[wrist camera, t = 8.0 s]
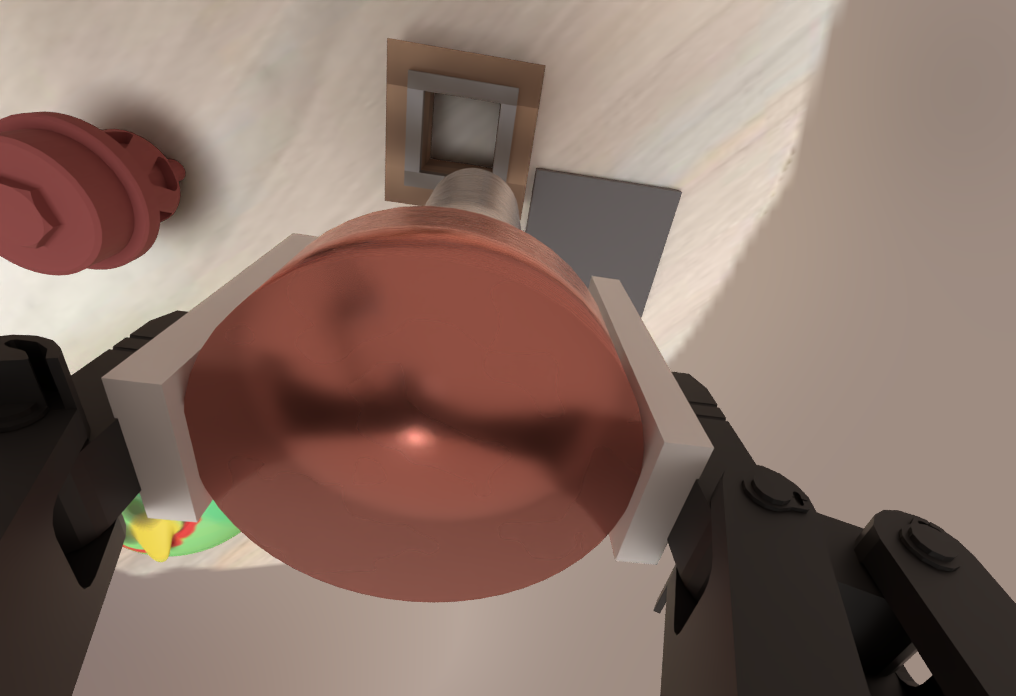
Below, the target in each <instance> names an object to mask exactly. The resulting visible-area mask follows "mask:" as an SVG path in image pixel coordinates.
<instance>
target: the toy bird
mask: <svg viewBox="0 0 1016 696" xmlns="http://www.w3.org/2000/svg"><path fill="white" fill-rule="evenodd" d="M122 515H123V517H124V520H125V523H126V537H125V540H124V543H123V546H122V547H124V548H126V549H129V550H132V551H135V552H138V553H142V554H147V555H149V556H150V557H151V558H153V559H154V560H155V561H157V562H164V561H166V560H167V559H168V556H181V555H188V554H193V553H197V552H201V551H204V550H207V549H210V548H212V547H215V546H217V545H219V544H221V543H223V542H225V541H227V540H229V539H231V538H232V537H234V536H236V535H237V534H239V533H240V532H241V531H240V530H239V529H238V528H237V527H236V526H235V525H234V524H233V523H232V522H231V521H230V520H229V519H228V518H227V516H226V515H225V514H224V513H223V512H222V511H221V510H220V509H219V507H218V506H217V505H216V503H215V502H214V500H212V502H211V503H210V504H209V506H208V507H207V509H206V510H205V512H204V513H203V515H202V516H201V518H200V519H199V521H198V522H187V521H176V520H165V519H154V518H148V517H147V514H146V511H145V508H144V505H143V502H142V499H141V496H140V493H139V494H138V495H137V496H136V497H135V498H134V499H133V501H132V502H131V503H130V504H129V505H128V506H127V507H126V509H125V510H124V511H123V512H122Z"/></svg>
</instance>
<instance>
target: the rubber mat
mask: <svg viewBox="0 0 1016 696" xmlns="http://www.w3.org/2000/svg"><path fill="white" fill-rule="evenodd" d="M681 194H682V192H681V191H679V190H675V189H668V188H662V187H655V186H649V185H643V184H636V183H630V182H623V181H617V180H610V179H604V178H597V177H591V176H584V175H578V174H571V173H565V172H558V171H552V170H545V169H539V168H536V173H535V179H534V185H533V191H532V197H531V203H530V209H529V215H528V221H527V227H526V233H528V234H530V235H531V236H533V237H534V238H536V239H537V240H539V241H540V242H542V243H543V244H544V245H546V246H547V247H549V248H550V249H552V250H553V251H554V252H555V253H556V254H557V255H558V256H559V257H560V258H562V259H563V260H564V261H565V262H566V263H567V264H568V265H569V266H570V267H571V268H572V269H573V270H574V272H575V273H576V274H577V275H578V277H579V278H580V279H581V280H582V281H583V283H584V284H585V285H586V287H587V288H589V284H590V280H591V277H592V276H596V277H603V278H610V279H617V280H620V282H621V284H622V286H623V287H624V289H625V291H626V293H627V294H628V296H629V298H630V300H631V302H632V303H633V305H634V307H635V309H636V310H637V312H638V314H639V316H640V317H642V314H643V311H644V308H645V305H646V301H647V298H648V295H649V292H650V289H651V286H652V283H653V280H654V277H655V274H656V271H657V268H658V265H659V261H660V258H661V255H662V252H663V249H664V246H665V243H666V240H667V237H668V234H669V231H670V228H671V225H672V222H673V218H674V215H675V212H676V209H677V206H678V203H679V200H680V197H681Z"/></svg>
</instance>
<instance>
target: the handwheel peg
mask: <svg viewBox="0 0 1016 696" xmlns="http://www.w3.org/2000/svg"><path fill="white" fill-rule="evenodd" d="M184 414H185V418H186V422H187V426H188V430H189V435H190V439H191V443H192V447H193V451H194V456H195V460H196V464H197V468H198V472H199V476H200V479H201V481H202V483H203V485H204V487H205V489H206V490H207V492H208V493H209V495H210V496H211V497H212V499H213V500H214V502H215V503H216V505H217V506H218V507H219V509H220V510H221V511H222V512H223V513H224V514H225V515H226V516H227V518H228V519H229V520H230V521H231V522H232V523H233V524H234V525H235V526H236V527H237V528H238V529H239V530H240V531H241V532H242V533H244V534H245V535H246V536H247V537H248V538H249V539H250V540H251V541H253V542H254V543H255V544H257V545H258V546H259V547H261V548H262V549H264V550H265V551H266V552H268V553H269V554H271V555H272V556H273V557H275V558H277V559H279V560H280V561H282V562H284V563H285V564H287V565H289V566H291V567H292V568H294V569H296V570H298V571H301V572H303V573H305V574H307V575H309V576H311V577H313V578H315V579H318V580H320V581H323V582H326V583H329V584H332V585H334V586H337V587H340V588H343V589H347V590H350V591H354V592H357V593H361V594H366V595H370V596H375V597H380V598H386V599H394V600H402V601H412V602H455V601H465V600H474V599H481V598H486V597H492V596H497V595H501V594H505V593H509V592H512V591H515V590H519V589H522V588H525V587H528V586H530V585H533V584H535V583H538V582H540V581H543V580H545V579H547V578H549V577H551V576H553V575H555V574H557V573H559V572H561V571H563V570H565V569H566V568H568V567H569V566H571V565H572V564H574V563H575V562H577V561H578V560H580V559H582V558H583V557H584V556H585V555H586V554H588V553H589V552H590V551H591V550H592V549H594V548H595V547H596V546H597V545H598V544H599V543H600V542H601V541H602V540H603V539H604V538H605V537H606V536H607V535H608V534H609V533H610V532H611V531H612V529H613V528H614V527H615V525H616V524H617V523H618V521H619V520H620V518H621V517H622V515H623V514H624V513H625V511H626V509H627V507H628V505H629V502H630V500H631V497H632V495H633V492H634V490H635V487H636V485H637V482H638V480H639V477H640V474H641V469H642V461H643V454H644V440H643V425H642V421H641V416H640V412H639V407H638V403H637V401H636V398H635V396H634V393H633V391H632V388H631V386H630V384H629V381H628V379H627V376H626V374H625V371H624V369H623V366H622V364H621V362H620V359H619V357H618V354H617V352H616V349H615V347H614V344H613V342H612V340H611V337H610V335H609V332H608V330H607V327H606V325H605V322H604V320H603V318H602V315H601V313H600V310H599V308H598V305H597V303H596V302H595V300H594V298H593V297H592V295H591V293H590V292H589V290H588V288H587V287H586V285H585V284H584V283H583V281H582V280H581V279H580V278H579V277H578V275H577V274H576V273H575V272H574V270H573V269H572V268H571V267H570V266H569V265H568V264H567V263H566V262H565V261H564V260H563V259H562V258H560V257H559V256H558V255H557V254H556V253H555V252H554V251H553V250H552V249H550V248H549V247H547V246H546V245H544V244H543V243H542V242H540V241H539V240H537V239H536V238H534V237H533V236H531V235H530V234H528V233H526V232H524V231H522V230H521V227H520V218H519V210H518V204H517V201H516V198H515V196H514V193H513V192H512V190H511V188H510V187H509V186H508V185H507V183H506V182H505V181H504V180H502V179H501V178H500V177H499V176H497V175H496V174H494V173H492V172H489V171H487V170H483V169H479V168H465V169H460V170H457V171H455V172H453V173H451V174H449V175H447V176H446V177H445V178H443V179H442V180H441V181H440V182H439V184H438V185H437V186H436V188H435V189H434V191H433V192H432V194H431V196H430V197H429V199H428V201H427V202H426V204H425V206H413V207H398V208H393V209H387V210H382V211H377V212H372V213H369V214H366V215H363V216H360V217H357V218H354V219H351V220H349V221H347V222H345V223H343V224H341V225H339V226H337V227H335V228H333V229H331V230H329V231H327V232H325V233H324V234H323V235H321V236H320V237H318V238H317V239H316V240H314V241H313V242H312V243H310V244H309V245H307V246H306V247H305V248H304V249H303V250H302V251H300V252H299V253H298V254H297V255H296V256H295V257H293V258H292V259H291V260H290V261H289V262H288V263H287V264H285V265H284V266H283V267H282V268H281V269H280V270H278V271H277V272H276V273H275V274H274V275H273V276H272V277H270V278H269V279H268V280H267V281H266V282H265V283H264V284H262V285H261V286H260V287H259V288H258V289H257V290H255V291H254V292H253V293H252V294H251V295H250V296H249V297H247V298H246V299H245V300H244V301H243V302H242V303H240V304H239V305H238V306H237V307H236V308H235V309H234V310H233V311H232V312H231V313H230V314H229V315H228V316H227V317H226V318H225V319H224V320H223V321H222V322H221V323H220V324H219V325H218V326H217V327H216V328H215V329H214V331H213V332H212V334H211V335H210V337H209V338H208V340H207V341H206V343H205V344H204V345H203V347H202V348H201V350H200V352H199V354H198V356H197V359H196V361H195V363H194V366H193V368H192V370H191V372H190V375H189V380H188V384H187V389H186V393H185V398H184Z"/></svg>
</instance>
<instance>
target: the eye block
mask: <svg viewBox="0 0 1016 696" xmlns="http://www.w3.org/2000/svg"><path fill="white" fill-rule="evenodd" d="M544 71H545V65H540V64H534V63H528V62H522V61H517V60H511V59H505V58H499V57H494V56H488V55H482V54H476V53H471V52H465V51H459V50H453V49H448V48H442V47H436V46H430V45H425V44H419V43H413V42H407V41H402V40H396V39H390V38H387V93H386V158H385V201H391V202H398V203H405V204H412V205H419V206H425V204H426V202H427V201H428V199H429V197H430V196H431V194H432V192H433V191H434V189H435V188H436V186H437V185H438V184H439V182H440V181H441V180H442V179H443V178H445V177H446V176H447V175H449V174H451V173H453V172H455V171H457V170H460V169H465V168H479V169H483V170H487V171H489V172H492V173H494V174H496V175H497V176H499V177H500V178H501V179H502V180H504V181H505V182H506V183H507V185H508V186H509V187H510V188H511V190H512V192H513V193H514V196H515V198H516V201H517V204H518V210H519V218H520V220H521V214H522V208H523V202H524V195H525V189H526V183H527V177H528V171H529V164H530V158H531V152H532V146H533V140H534V133H535V127H536V121H537V115H538V109H539V102H540V96H541V90H542V84H543V78H544ZM434 93H440V94H446V95H453V96H459V97H465V98H471V99H477V100H483V101H489V102H495V103H501V104H500V112H499V120H498V128H497V136H496V144H495V152H494V161H493V168H489V167H483V166H476V165H470V164H463V163H457V162H450V161H444V160H437V159H431V158H430V156H431V139H432V122H433V106H434Z"/></svg>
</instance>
